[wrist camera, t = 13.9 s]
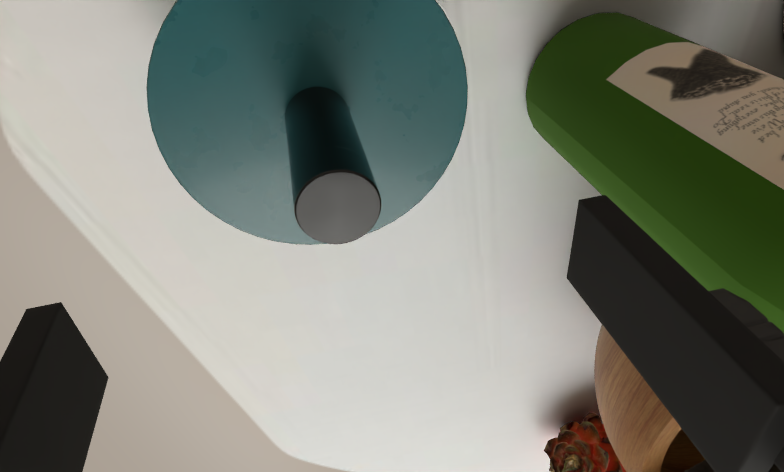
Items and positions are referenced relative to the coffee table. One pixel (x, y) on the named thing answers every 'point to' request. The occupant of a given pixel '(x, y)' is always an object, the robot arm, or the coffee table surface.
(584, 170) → the wine bottle
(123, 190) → the coffee table surface
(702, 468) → the rock sample
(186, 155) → the lid
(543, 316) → the coffee table surface
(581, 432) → the dragon fruit
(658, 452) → the bowl
